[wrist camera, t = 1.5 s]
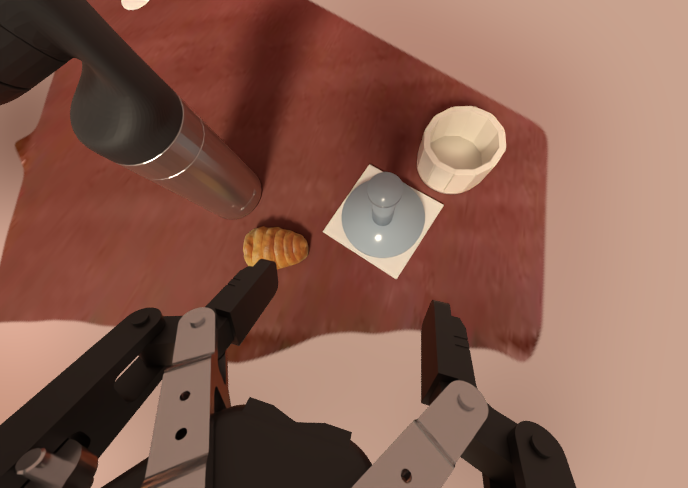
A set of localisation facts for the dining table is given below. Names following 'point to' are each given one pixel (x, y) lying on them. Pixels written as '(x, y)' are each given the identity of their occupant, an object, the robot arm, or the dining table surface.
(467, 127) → the cup
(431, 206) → the mat
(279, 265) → the pastry
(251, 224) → the dining table surface
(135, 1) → the wineglass
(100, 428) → the robot arm
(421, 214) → the lid
